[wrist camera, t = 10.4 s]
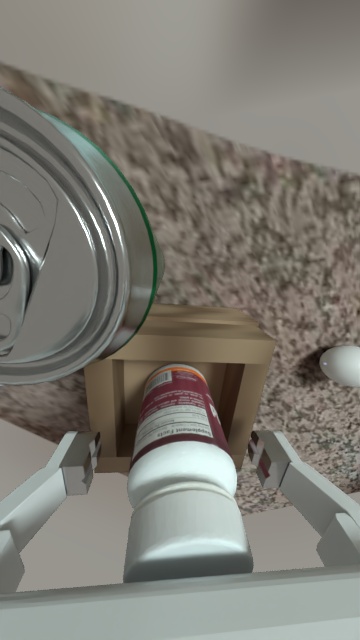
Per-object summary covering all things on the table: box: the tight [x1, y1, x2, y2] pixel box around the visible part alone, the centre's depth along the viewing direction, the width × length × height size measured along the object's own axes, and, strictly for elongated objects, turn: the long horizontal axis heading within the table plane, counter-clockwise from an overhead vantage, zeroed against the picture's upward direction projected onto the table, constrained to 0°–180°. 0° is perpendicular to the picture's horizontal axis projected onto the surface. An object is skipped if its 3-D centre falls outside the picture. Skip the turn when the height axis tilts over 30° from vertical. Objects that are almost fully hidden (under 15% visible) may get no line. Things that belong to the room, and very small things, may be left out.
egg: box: [319, 346, 360, 387], centre depth 16 cm, size 4×6×4 cm, turn 83°
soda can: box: [0, 87, 165, 386], centre depth 8 cm, size 5×5×12 cm
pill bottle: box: [123, 364, 253, 583], centre depth 9 cm, size 5×5×8 cm
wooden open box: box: [84, 303, 276, 473], centre depth 14 cm, size 11×11×6 cm
